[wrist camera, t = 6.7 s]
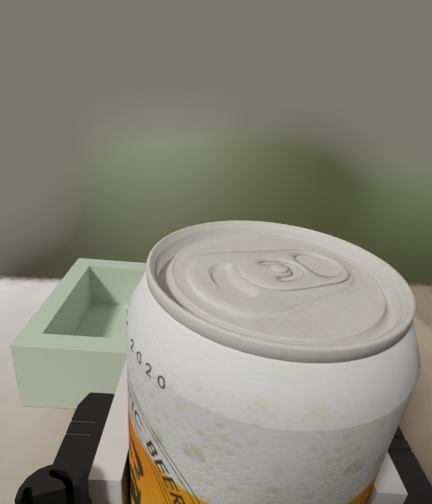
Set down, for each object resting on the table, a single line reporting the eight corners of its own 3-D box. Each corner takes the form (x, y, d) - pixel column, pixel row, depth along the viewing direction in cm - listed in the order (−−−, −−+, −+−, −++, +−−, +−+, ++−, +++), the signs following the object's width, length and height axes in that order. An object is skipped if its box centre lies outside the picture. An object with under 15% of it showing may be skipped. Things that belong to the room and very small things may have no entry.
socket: (207, 312, 32) (211, 267, 30) (205, 415, 22) (211, 358, 20) (82, 304, 31) (78, 258, 29) (21, 405, 21) (10, 345, 19)
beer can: (118, 561, 15) (101, 222, 9) (245, 504, 17) (304, 209, 11) (159, 805, 10) (190, 427, 4) (329, 677, 12) (519, 321, 6)
